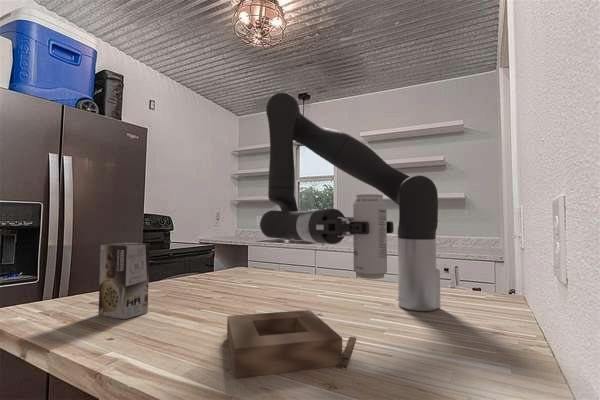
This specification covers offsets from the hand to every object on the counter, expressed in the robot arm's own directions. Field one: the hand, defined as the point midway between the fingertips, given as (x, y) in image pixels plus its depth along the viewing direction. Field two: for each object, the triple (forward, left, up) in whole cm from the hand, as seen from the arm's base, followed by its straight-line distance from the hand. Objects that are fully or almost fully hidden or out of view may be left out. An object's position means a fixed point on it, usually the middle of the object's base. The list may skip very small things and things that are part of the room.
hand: (380, 227), depth 59 cm
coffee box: (+48, -32, -21) cm, 61 cm away
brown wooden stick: (+7, +1, -21) cm, 22 cm away
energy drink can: (+1, -2, -9) cm, 10 cm away
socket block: (+18, -2, -21) cm, 27 cm away
